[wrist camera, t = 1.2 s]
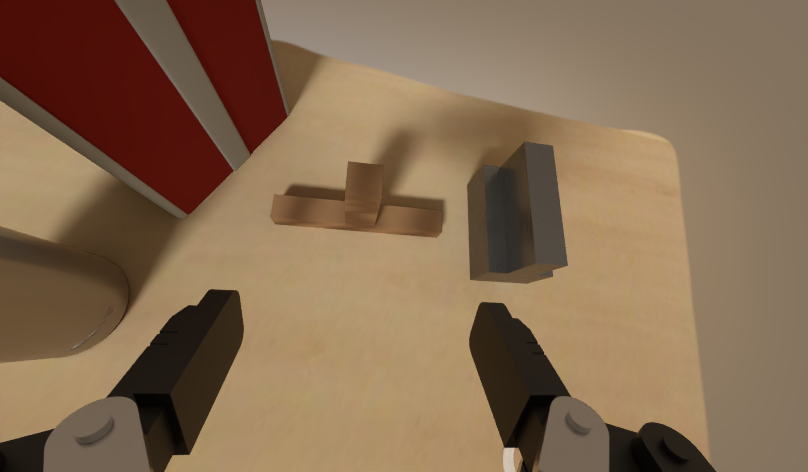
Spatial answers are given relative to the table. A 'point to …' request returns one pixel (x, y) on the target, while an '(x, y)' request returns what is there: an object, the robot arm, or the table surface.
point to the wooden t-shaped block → (357, 208)
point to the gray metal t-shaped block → (516, 218)
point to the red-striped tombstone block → (146, 87)
